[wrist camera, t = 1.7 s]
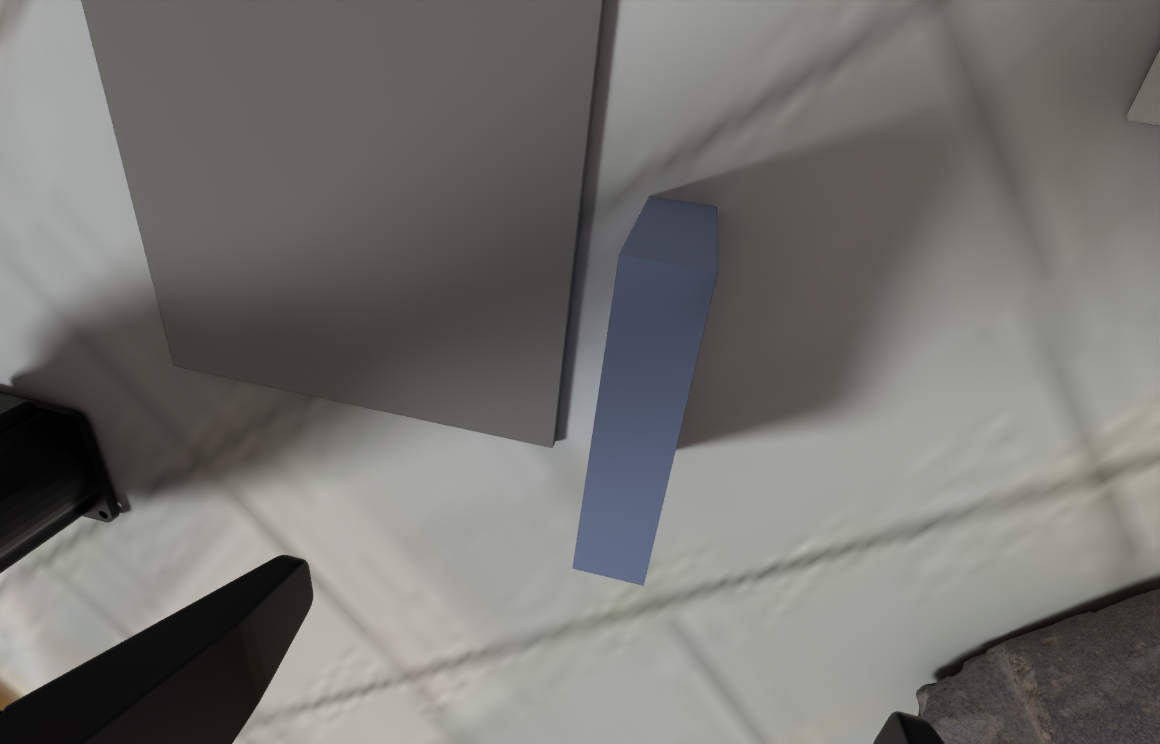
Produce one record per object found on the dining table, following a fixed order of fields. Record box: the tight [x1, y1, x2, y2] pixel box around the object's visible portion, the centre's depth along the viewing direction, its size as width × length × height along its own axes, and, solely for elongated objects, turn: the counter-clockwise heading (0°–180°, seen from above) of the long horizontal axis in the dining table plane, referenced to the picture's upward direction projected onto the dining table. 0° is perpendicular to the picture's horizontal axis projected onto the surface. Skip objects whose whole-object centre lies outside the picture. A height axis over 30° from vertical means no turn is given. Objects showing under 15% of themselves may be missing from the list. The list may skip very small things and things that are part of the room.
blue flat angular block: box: [573, 196, 718, 586], centre depth 17 cm, size 9×2×6 cm, turn 173°
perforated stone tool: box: [916, 589, 1160, 744], centre depth 19 cm, size 15×5×7 cm, turn 139°
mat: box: [81, 0, 605, 448], centre depth 19 cm, size 18×16×1 cm
